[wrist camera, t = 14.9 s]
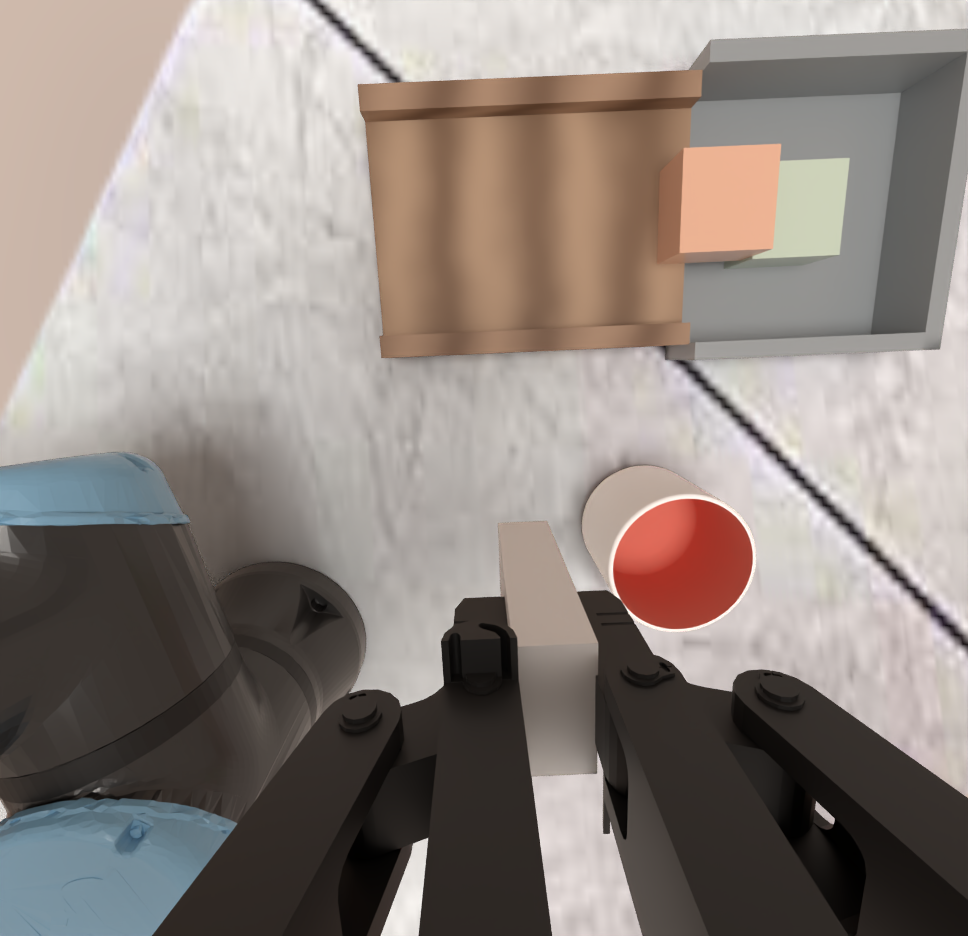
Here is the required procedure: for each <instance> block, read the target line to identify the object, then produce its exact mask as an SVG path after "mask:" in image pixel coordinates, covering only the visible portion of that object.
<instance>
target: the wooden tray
mask: <svg viewBox="0 0 968 936" xmlns="http://www.w3.org/2000/svg"><path fill="white" fill-rule="evenodd" d="M702 71H703V70H683V71H660V72H637V73H613V74H590V75H567V76H543V77H520V78H497V79H473V80H450V81H427V82H403V83H380V84H358V93H359V105H360V112H361V114H362V116H363V118H364V120H365V125H366V136H367V148H368V160H369V172H370V183H371V195H372V207H373V219H374V230H375V242H376V254H377V266H378V277H379V289H380V301H381V312H382V324H383V336H380V346H381V358H397V357H420V356H443V355H465V354H488V353H511V352H533V351H556V350H579V349H602V348H624V347H647V346H669V345H686V344H689V342H690V322H689V323H682V309H683V287H684V264H685V263H678V264H657V246H658V213H659V180H660V171H661V170H662V169H663V168H664V167H665V166H666V165H667V164H668V163H669V162H670V161H671V160H672V159H673V158H674V157H675V156H676V155H677V154H678V153H679V152H680V151H681V150H682V149H683V148H690V129H691V108H692V107H693V106H694V104H695V103H696V102H697V101H698V100H699V99H700V97H701V92H702Z"/></svg>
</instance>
